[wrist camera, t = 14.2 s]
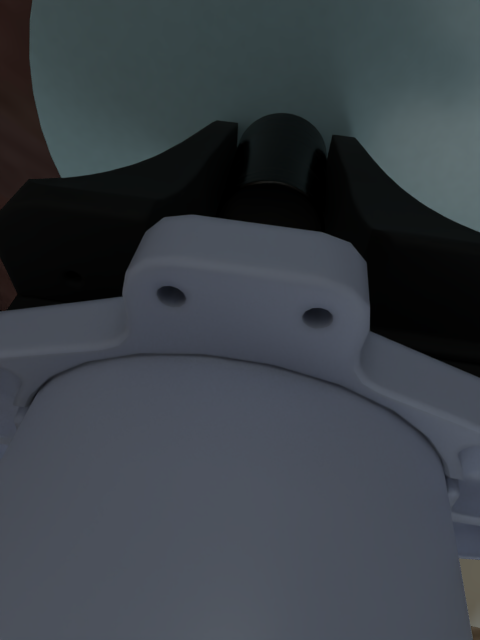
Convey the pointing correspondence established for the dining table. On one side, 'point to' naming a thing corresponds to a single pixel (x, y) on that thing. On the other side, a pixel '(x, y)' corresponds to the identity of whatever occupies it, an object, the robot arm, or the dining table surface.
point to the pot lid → (267, 93)
